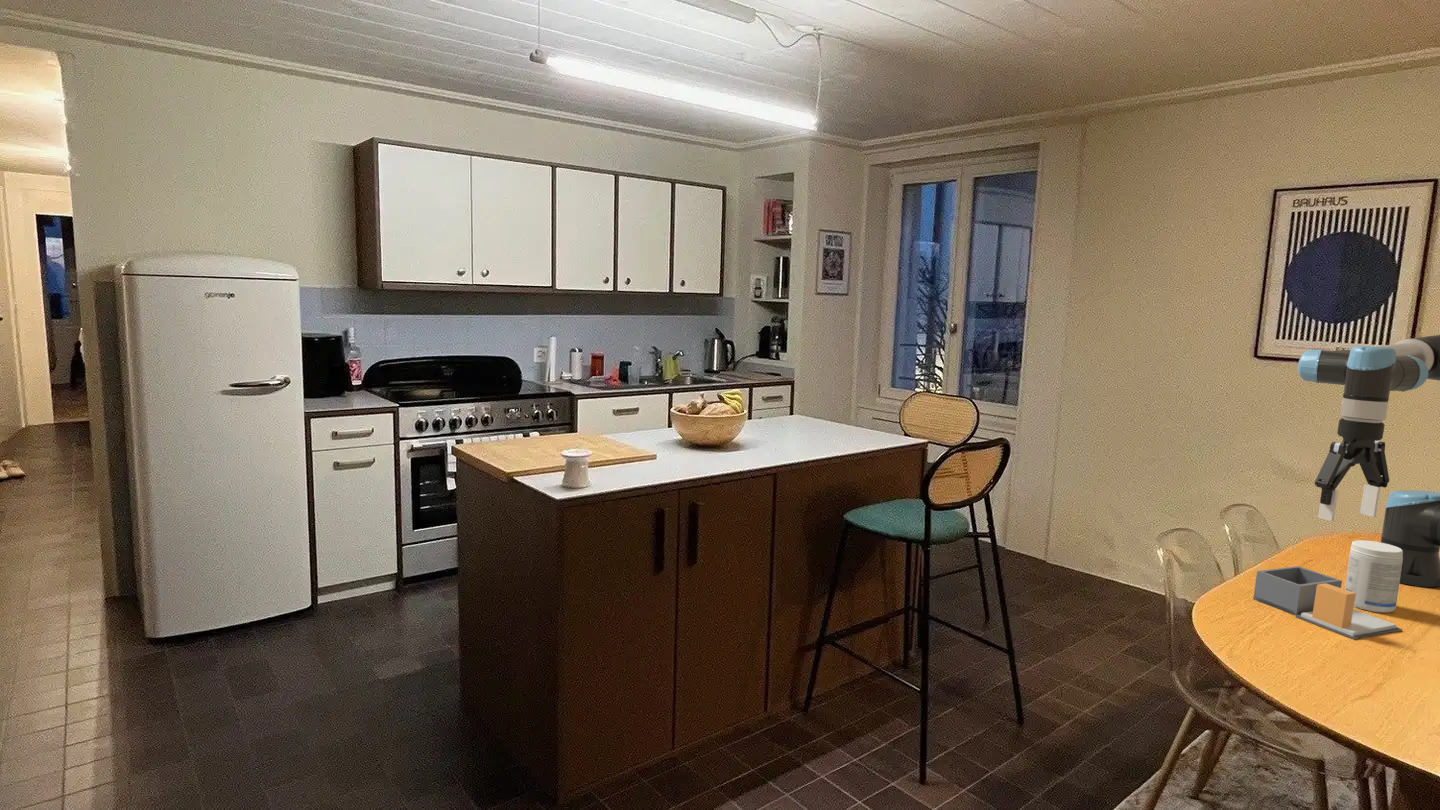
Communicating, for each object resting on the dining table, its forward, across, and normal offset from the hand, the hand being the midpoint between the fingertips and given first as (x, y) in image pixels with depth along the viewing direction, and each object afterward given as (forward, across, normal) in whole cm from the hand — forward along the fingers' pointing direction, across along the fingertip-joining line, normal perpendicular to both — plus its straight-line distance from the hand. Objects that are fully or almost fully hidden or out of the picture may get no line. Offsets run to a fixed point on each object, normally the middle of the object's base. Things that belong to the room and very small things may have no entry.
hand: (1346, 517), depth 169 cm
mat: (+25, -6, 0) cm, 25 cm away
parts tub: (+25, -6, -11) cm, 28 cm away
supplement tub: (+25, -23, -6) cm, 34 cm away
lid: (+24, -6, 0) cm, 25 cm away
